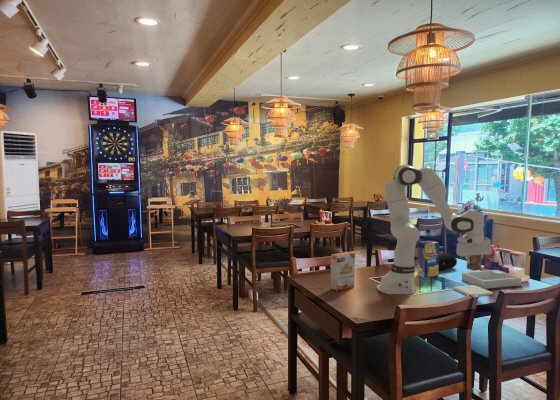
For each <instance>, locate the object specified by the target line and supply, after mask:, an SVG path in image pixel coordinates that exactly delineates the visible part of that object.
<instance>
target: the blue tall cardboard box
mask: <svg viewBox="0 0 560 400" xmlns="http://www.w3.org/2000/svg"><path fill="white" fill-rule="evenodd" d="M439 255H440V242H439V241H435V240H423V241H417V276H420V277H422V278H432V277H438V276H439V271H440V270H439Z"/></svg>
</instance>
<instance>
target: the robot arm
mask: <svg viewBox="0 0 560 400" xmlns="http://www.w3.org/2000/svg"><path fill="white" fill-rule="evenodd" d="M394 172H395V173H394V176H393V180H390V181H388V182H386V183H385V186H384V193H385V199H386V200H385V201H386V203H387V204H386V205H387V208H388V213H389V218H390V219H389V221H390V233H391V234H392V236H393V237H394V238H396V240H397V243H396V246H395V249H394V250H393V264H392V265H391V264H388V265H387V268H388V269H390V270H389V272H387V273H386V274H385V275H383V276H382V277H381V279H380V283H379V284H377V285H376V289H377V290H378V291H379V292H381V293H383V294H387V295H414V294H415V292H417V285H416V281H415V272H416V266H415V251H416V246H417V244H418V242H419V239H420V236H421V233H420V231H419V229H418V228H417V226H415V225H414V224H412V223H410V212H411V211H410V210H411V209H410V206H409V201H408V198H407V194H406V187H407V186H410V187H411V186H414V185H418V186H419V187H420V188H421V189H422V192H423V193H424V194H425V195H426V197H427V198H428V199H429V200H430V201H431V202H432V204H434V206H435V208H436V209H437V211H438V212H439V214H440V216H441V219H442V224H443V225H442V226H444V228H445V229H446V230H448V231H451V232H454V233H456V234H463V233H465V234H463V235H461V236H459V237H457V238H456V239H457V244H456V255H457V256H458V257H464V258H465V260H466V264H467V263H468V264H470V263H471V260H470V259H469V258H470V256H473V255H480V256H481V260H483V258H484V256H486V255H491V254H492V253H493V252H492V244H491V241H492V239H490V238H489V237H485V233H484V227H485V215H484V213H483V211H482V210H478V209H472V208H471V209H470V208H469V209H467V210H466V211H464V212H462V213H460V214H457V213H455V212H454V211H453V210H452V208H451V207H450V205H449V204H448V202H447V200H446V197H445V196H446V194H447V193H448V192H447V188H446V186H445V183H444V182H443V181H442V179H441V178H440V176H439V174H437V172H436V171H435V170H434V169H432V167H430V166H424V167H421V168H419V169H418V168H416V167H414V166H412V165H411V164H402V165H400V166H398V167H397V168H396V170H395V171H394Z"/></svg>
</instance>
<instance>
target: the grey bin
mask: <svg viewBox="0 0 560 400" xmlns="http://www.w3.org/2000/svg"><path fill="white" fill-rule="evenodd" d="M491 271H500V272H503V273H505V279H496V280H491ZM461 280H462V281H464V282H466V283H469V284H470V285H476V286H478V287H481V288H483V289H486V290H488V289H495V288H506V287H508V288H509V287H517V286H518V287H519V286H522V285H521V284H522V277H520V276H517V275H514V274H511V273H508V272H505V271H501V270H498V269H491V270H490V269H488V270H476V271H468V272H467V271H466V272H462V273H461Z"/></svg>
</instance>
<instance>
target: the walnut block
mask: <svg viewBox="0 0 560 400" xmlns="http://www.w3.org/2000/svg"><path fill="white" fill-rule="evenodd" d="M469 259H470V260H471V263H470V264H468V263H467V262H466V269H468V270H470V271H472V272H476V271H482V259H481V256H480V255H473V256H470V258H469Z"/></svg>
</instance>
